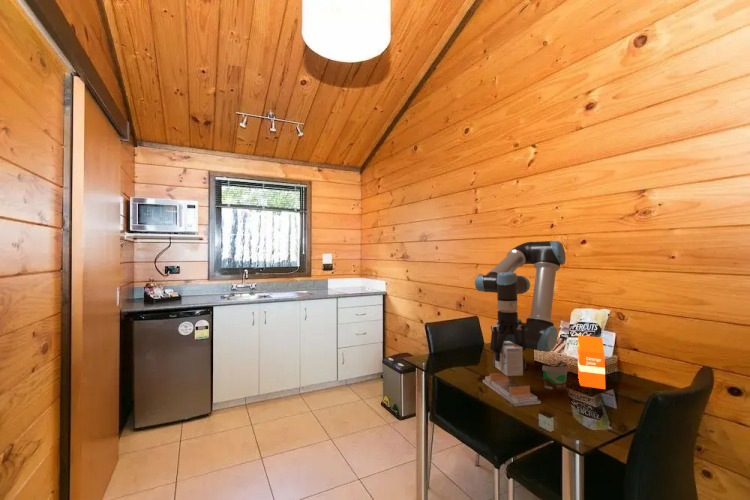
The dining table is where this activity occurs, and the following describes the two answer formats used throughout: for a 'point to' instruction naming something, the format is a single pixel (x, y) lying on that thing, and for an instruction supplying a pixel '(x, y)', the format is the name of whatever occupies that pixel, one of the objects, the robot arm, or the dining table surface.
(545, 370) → the food container
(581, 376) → the orange juice
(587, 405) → the dining table surface
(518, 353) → the light bulb box
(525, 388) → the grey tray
